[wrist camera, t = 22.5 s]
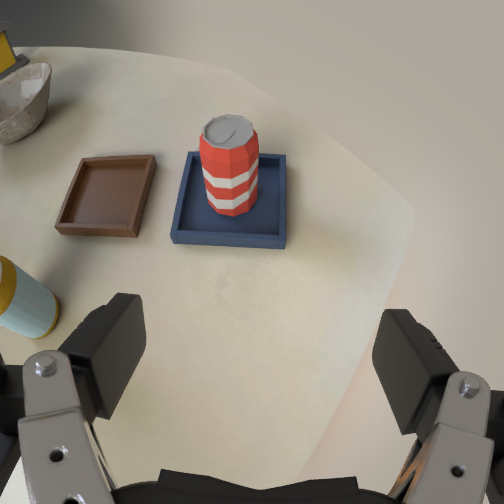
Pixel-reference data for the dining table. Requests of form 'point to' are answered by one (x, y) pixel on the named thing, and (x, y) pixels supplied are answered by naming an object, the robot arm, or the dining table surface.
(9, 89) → the ceramic bowl
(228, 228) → the tray
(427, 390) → the robot arm
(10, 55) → the lantern
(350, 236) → the dining table surface
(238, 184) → the beverage can
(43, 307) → the bottle
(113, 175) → the tray
